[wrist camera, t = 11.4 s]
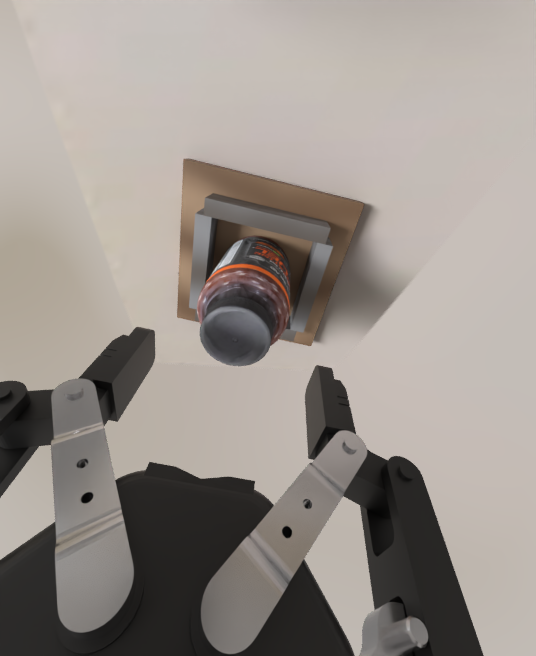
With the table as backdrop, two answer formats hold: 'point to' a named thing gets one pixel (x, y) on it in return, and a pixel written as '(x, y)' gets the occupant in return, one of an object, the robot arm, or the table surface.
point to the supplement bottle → (245, 302)
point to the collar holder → (267, 221)
